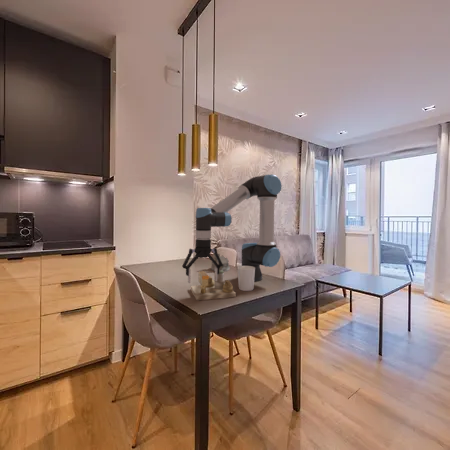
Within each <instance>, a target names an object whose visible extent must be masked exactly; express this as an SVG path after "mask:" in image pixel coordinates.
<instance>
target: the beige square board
mask: <svg viewBox="0 0 450 450" xmlns="http://www.w3.org/2000/svg"><path fill="white" fill-rule="evenodd" d="M224 275H225V272H224V271H223V270H222V271H219V274H217V281H215V280H214V279H213V277H212V276H211V275H208V276H209V279H208V286H206V293H201V284H199V285H198V284H197V285H190V291H191V293H192V295H193V296H194V298H195V300H196V301H204V300H215V299H217V300H218V299H227V298H236V297H237V296H236V295H237V292H235V290H234V287H233V284H232V282H231V281H230V280H229V279H226V280H225V278H224V277H225V276H224ZM214 277H215V272H214Z"/></svg>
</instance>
